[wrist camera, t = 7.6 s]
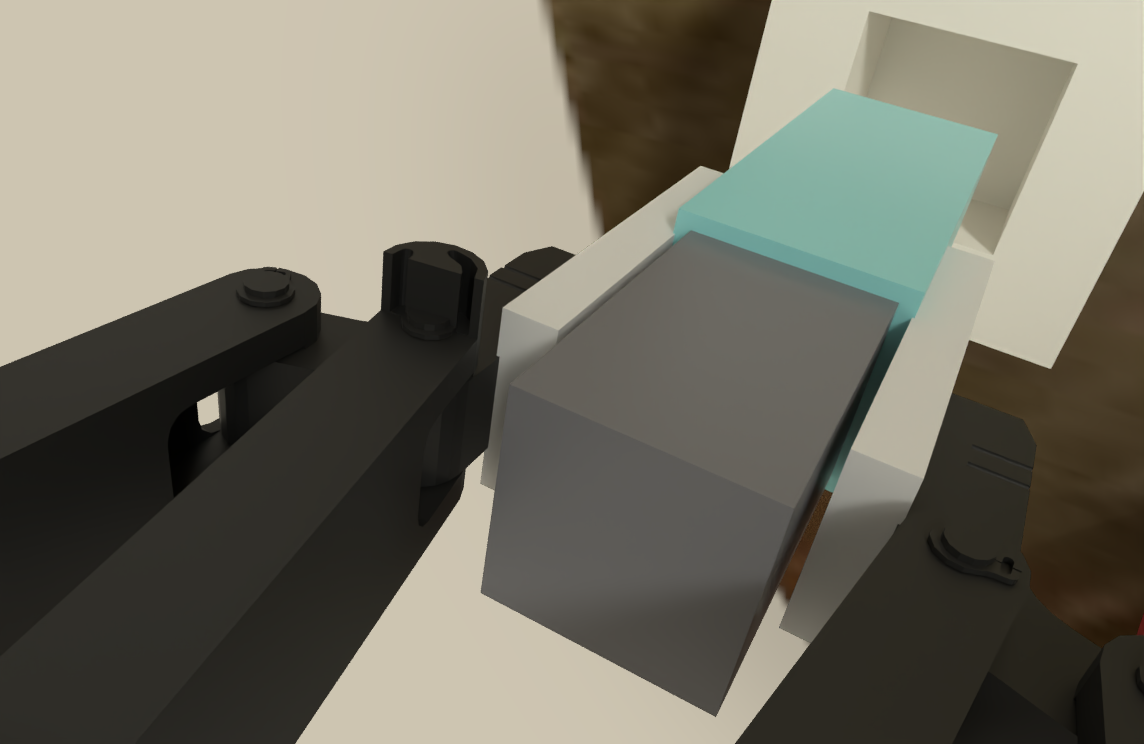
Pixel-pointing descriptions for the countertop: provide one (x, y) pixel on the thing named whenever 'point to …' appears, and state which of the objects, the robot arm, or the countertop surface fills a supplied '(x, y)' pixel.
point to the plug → (723, 393)
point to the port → (990, 128)
